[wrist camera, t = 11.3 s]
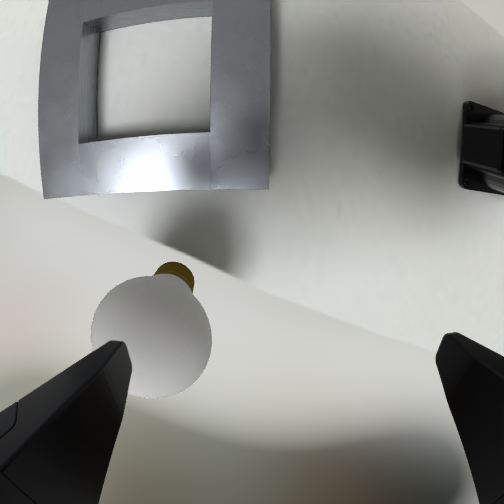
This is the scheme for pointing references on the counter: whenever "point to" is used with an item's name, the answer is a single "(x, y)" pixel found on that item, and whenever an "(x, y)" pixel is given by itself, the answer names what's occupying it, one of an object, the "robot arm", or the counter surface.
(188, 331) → the light bulb
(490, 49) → the counter surface
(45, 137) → the socket collar
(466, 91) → the counter surface
